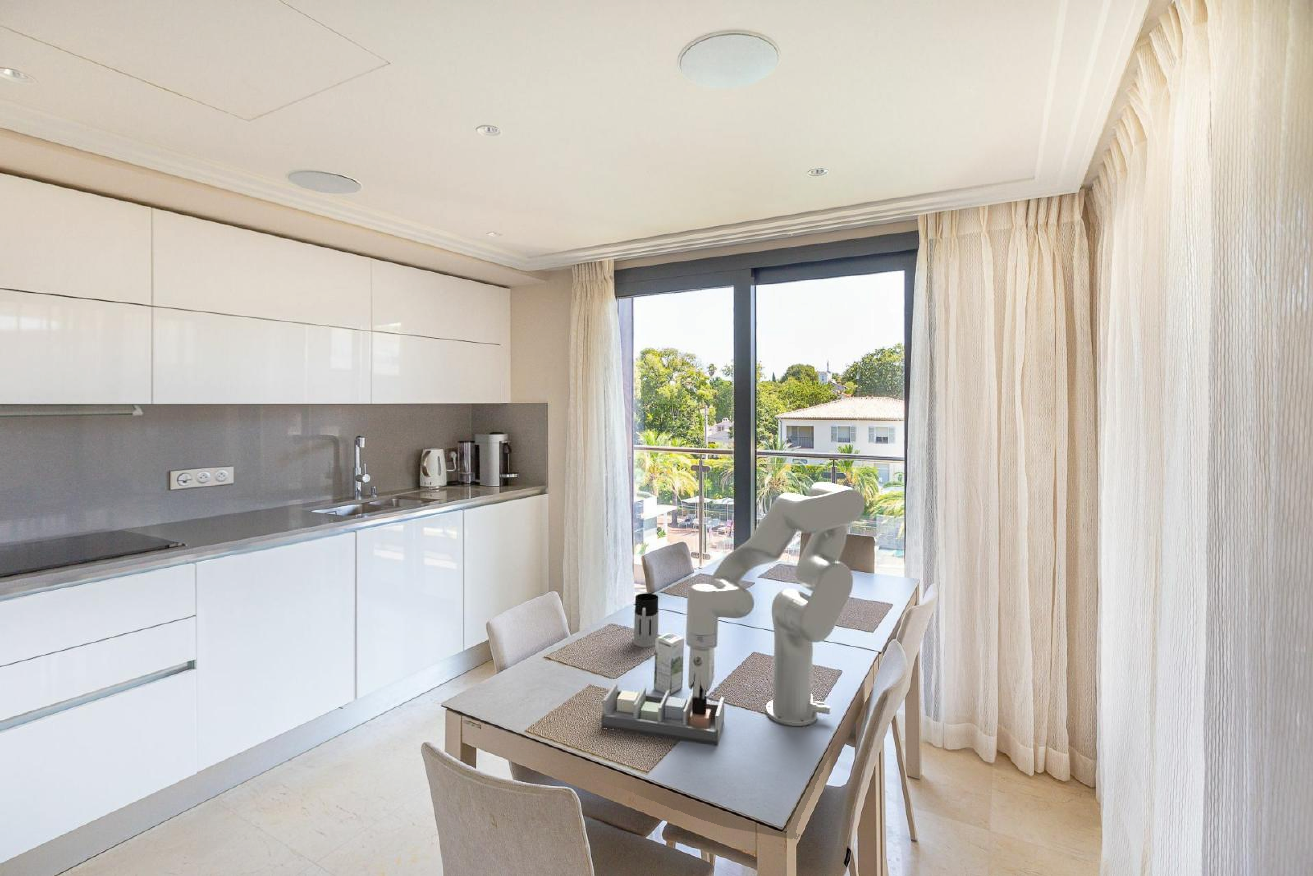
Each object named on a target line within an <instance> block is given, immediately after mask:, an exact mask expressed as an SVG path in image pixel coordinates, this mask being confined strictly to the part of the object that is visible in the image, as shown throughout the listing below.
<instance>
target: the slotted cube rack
mask: <svg viewBox="0 0 1313 876" xmlns="http://www.w3.org/2000/svg"><path fill="white" fill-rule="evenodd" d="M618 685H619V684H618V683H617V682H614V683H613V685H612V686H611V688H610V689H609V691H608V692H607V693H606V695H605V696H604V698H603V699H602V714H601V722H600V723H601V727H600V728H607V729H606V730H608V729H614V730H613V731H615V730H620V731H619V732H622V731H624V732H623V733H628V732H631V733H630V734H635V733H636V734H637V735H642V736H649V737H657V738H662V739H671V740H676V741H682V742H683V741H684V742H690V743H696V744H697V743H698V744H703V745H704V744H705V745H710V746H715V747H716V746H717V747H718V745H719V742H720V738H721V734H722V730H723V726H724V723H725V696H724V697H723V696H721V697H720V699H719V702H718V703H716V702H708V701H707V708H706V709H710V710H711V722H710V726H709V729H705V728H698V727H691V726H690V714H691V711H692V699H693V692H692V693H690V694H689V696H688V699H687V703H686V706H685V708H684V711H683V720H681V719H673V718H666V717H665V704H666V702H667V700H668V698H669V697H670V695H669V690H667V691H666V693H664V695H663V696H661V695H656V694H655V695H654V694H647V687H646V686H643V688H642V690H641V691H640V692H638V693H639V696H638V698H637V700H636V701H635V703H634V713H631V712H624V711H617V698H618V696H619V695H620V693H621V692H622V690H618V689H619V688H618ZM645 701H646V702H654V703H660V705H659V707H658V722H656V721H649V720H642V719H641V708H642V707H643V705H644V703H645Z"/></svg>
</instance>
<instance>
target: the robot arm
mask: <svg viewBox="0 0 1313 876" xmlns="http://www.w3.org/2000/svg"><path fill="white" fill-rule="evenodd" d="M865 507H866V505H865V499H864V496H863V495H862V493H861V492H860V491H859V490H857V489H855V488H853V487H850V486H845V485H840V484H836V483H832V482H827V481H820V482H815V483H814V484H812V485H811V486H810V488H809V490H808V491H807V496H805V495H802V494H797V493H792V492H785V493H782V494H780V495H778V497H777V498H776V499H775V500H774V502H773V503H772V505H771V506H770V507H769V509H768V511H767V512H766V514H765V515H764V517H763V518H762V519H761V521H760V523H759V524H758V525H757V527H756V529H755V530H754V532H753V533H752V535H751V536H750V538H749V539H748V540H746V541H745V542H743V543H742V544H741V545H739V546H738V547H736V548H735V549H734V550H733V551H732V552H730V553H729V554H728V555H727V556H726V557H725V558H723V560H722V561H721V562H720V564H719V565H718V567H717V568H716V569H715V571H714V572H713V575H712V576H711V578H710V579H709V582H708V583H696V584H693V585H691V586H689V587H688V590H687V594H686V595H687V596H686V597H687V598H686V599H687V600H686V628H685V629H686V630H685V644H686V645H687V647H689V660H688V689H689V690H692V693H693V699H692V713H693V714H699V715H705V714H706V708H707V702H708V699H707V698H708V696H707V692H710V690H711V687H712V685H713V683H714V682H713V681H714V678H715V648H716V647H717V646H718V640H719V638H718V637H719V635H718V634H719V618H727V619H742V618H745V617H747V616H748V615H749V614H751V612H752V611H753V609H754V607H755V599H754V597H753V595H752V593H751V592H750V591H749V590H748V589H747V588H745V587H744V586H742V585H740V583H741V580H743V578H744V577H745V576H746V575H747V573H748V572H750V571H751V570H753V569H754V568H757V567H759V566H762V565H766V564H769V563H770V564H771V563H774V562H777V561H778V560H780V558H781V557H782V555H783V554H784V552H785V550H786V549H787V547H788V546H789V544H791V541H792V539H793V538H794V537H795V535H796V533H797V532H800V533H802V534H803V533H804V534H811V535H810V537H809V539H808V541H807V544H806V546H805V547H804V549H803V552H802V553H801V556H800V558H799V560H798V562H797V564H796V567H795V570H794V577H795V580H796V581H797V583H798V584H800V585H801V586H802V587H803V588H804V589H807V590H809V591H811V593H810V595H808V594H807V593H804V592H802V591H801V590H797V589H793V588H787V589H782V590H781V591H779V592H778V593H776V595H775V597H774V599H773V600H772V603H771V619H772V624H773V625H772V627H773V634H774V635H773V636H774V637H773V638H774V639H773V640H774V642H773V643H774V644H773V645H774V646H773V647H774V648H773V670H772V673H773V674H772V700H770V701H769V702H767V704H766V706H765V713H766V715H767V716H768V717H769V718H770V719H771V720H773V721H775V722H777V723H779V724H782V725H786V726H790V727H804V726H808V725H811V724H813V723H815V722H816V721H817V718H818V713H819V714H823V715H830V713H831V712H830V709H831V707H830V705H825V701H816V700H815V699H813V694H812V684H813V656H814V653H813V652H814V648H813V647H814V646H813V643H820V642H823V641H825V640H827V638H828V637H829V636H830V635H831V634H832V632H833V630H834V629H835V626H836V625H837V623H838V621H839V619H840V618H841V615H842V613H843V611H844V609H845V606H846V604H847V603H848V600H849V598H850V595H851V593H852V591H853V586H854V578H853V574H852V571H851V569H850V567H848V565H847V564H846V563H844V562H842V561H840V558H841V555H842V553H843V550H844V548H845V547H846V546H845V545H846V542H847V533H848V531H847V525H849V524H851V523H854V522H855V521H857V520H858V519H859V518H860V517H861V516H862V515H863V513H864V511H865Z"/></svg>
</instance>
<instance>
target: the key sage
mask: <svg viewBox="0 0 1313 876" xmlns="http://www.w3.org/2000/svg"><path fill="white" fill-rule="evenodd" d="M659 705H660V703H654V702H646V701H645V703H644V705H643V707H642V708H641V719H642V720H649V721H656V722H658V707H659Z"/></svg>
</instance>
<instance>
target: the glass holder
mask: <svg viewBox="0 0 1313 876" xmlns="http://www.w3.org/2000/svg"><path fill="white" fill-rule="evenodd" d="M634 606H635V608H634V620H633V621H634V622H633V625H634V627H633V629H634V631H633V632H634V633H633V640H632V643H633V645H635V646H636V647H641V648H653V647H655V640H656V638H658V637H659V616H660V615H659V596H658V594H655V593H644V592H643V593H639V594H636V595H635V601H634Z"/></svg>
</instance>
